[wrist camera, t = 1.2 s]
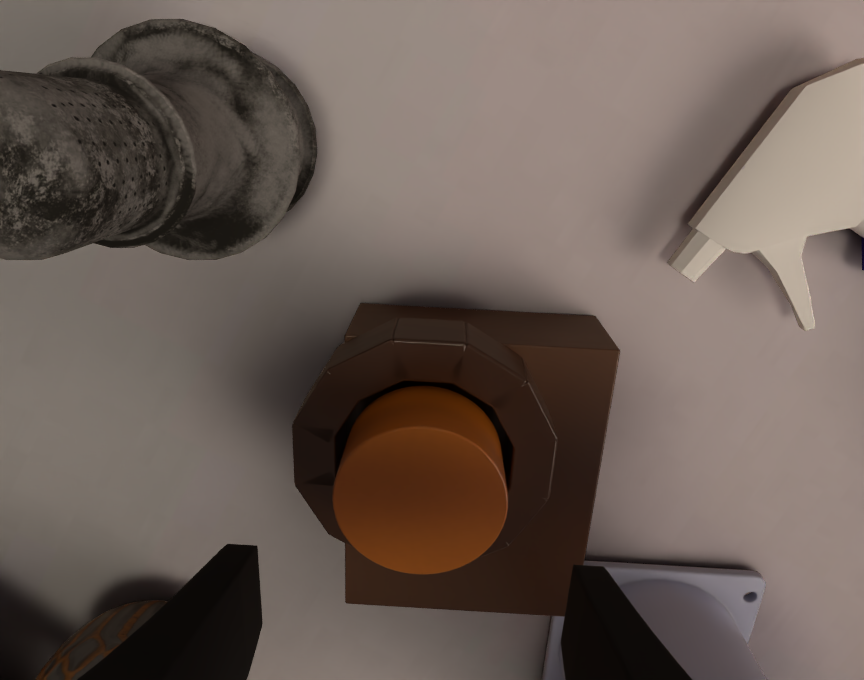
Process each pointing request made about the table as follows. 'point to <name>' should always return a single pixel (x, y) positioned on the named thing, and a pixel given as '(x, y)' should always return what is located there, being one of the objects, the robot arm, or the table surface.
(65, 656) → the vase
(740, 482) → the table surface
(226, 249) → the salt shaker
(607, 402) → the brown button base
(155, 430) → the table surface
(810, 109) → the spray bottle
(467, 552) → the orange button
